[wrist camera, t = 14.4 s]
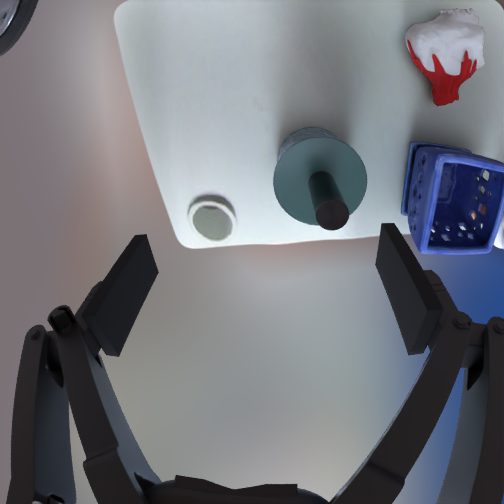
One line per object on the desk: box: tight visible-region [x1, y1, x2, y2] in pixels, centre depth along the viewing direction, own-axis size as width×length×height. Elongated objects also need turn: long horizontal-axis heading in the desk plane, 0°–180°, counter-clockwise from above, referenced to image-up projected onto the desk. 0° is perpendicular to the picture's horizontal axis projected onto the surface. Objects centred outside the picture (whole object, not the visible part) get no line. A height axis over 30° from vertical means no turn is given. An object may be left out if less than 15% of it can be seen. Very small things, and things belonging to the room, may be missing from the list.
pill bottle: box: [471, 193, 504, 249], centre depth 35 cm, size 6×6×11 cm
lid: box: [273, 136, 367, 230], centre depth 29 cm, size 11×11×9 cm
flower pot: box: [401, 142, 504, 255], centre depth 33 cm, size 13×13×12 cm
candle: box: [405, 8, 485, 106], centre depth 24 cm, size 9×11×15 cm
